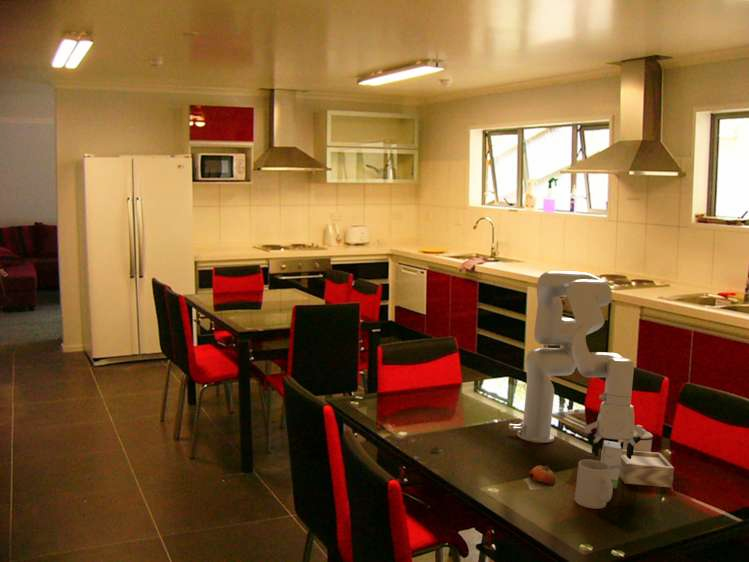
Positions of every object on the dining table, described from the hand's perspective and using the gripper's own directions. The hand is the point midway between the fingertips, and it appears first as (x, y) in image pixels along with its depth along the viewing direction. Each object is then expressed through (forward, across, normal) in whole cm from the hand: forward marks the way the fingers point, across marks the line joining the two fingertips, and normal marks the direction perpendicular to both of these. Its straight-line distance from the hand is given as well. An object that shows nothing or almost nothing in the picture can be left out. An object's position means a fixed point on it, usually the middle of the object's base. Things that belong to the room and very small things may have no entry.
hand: (612, 456), depth 239 cm
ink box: (+9, 0, +1) cm, 9 cm away
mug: (+9, -8, -18) cm, 22 cm away
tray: (+8, +12, +9) cm, 17 cm away
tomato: (+9, -20, -3) cm, 22 cm away
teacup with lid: (+8, +13, +25) cm, 29 cm away
